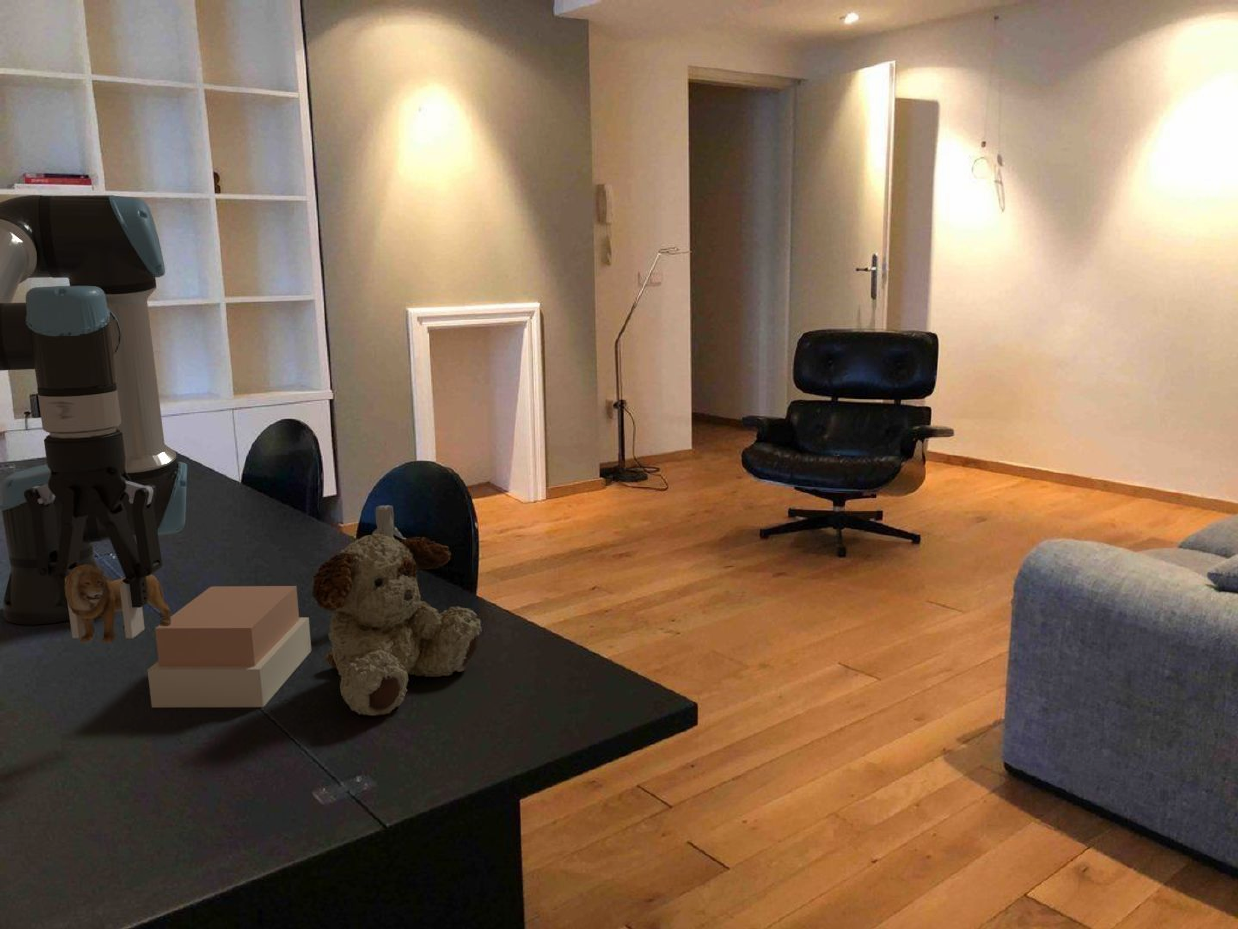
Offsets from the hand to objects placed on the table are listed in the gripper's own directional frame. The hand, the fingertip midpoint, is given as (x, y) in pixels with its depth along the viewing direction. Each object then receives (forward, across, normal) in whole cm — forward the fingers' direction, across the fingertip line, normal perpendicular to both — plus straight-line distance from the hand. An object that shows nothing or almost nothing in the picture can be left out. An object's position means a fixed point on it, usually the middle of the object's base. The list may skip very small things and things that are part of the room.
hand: (108, 633), depth 110 cm
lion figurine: (+1, +1, +1) cm, 2 cm away
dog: (+13, +26, +16) cm, 34 cm away
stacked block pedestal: (+13, +6, +18) cm, 23 cm away
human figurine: (+14, +21, +40) cm, 47 cm away
